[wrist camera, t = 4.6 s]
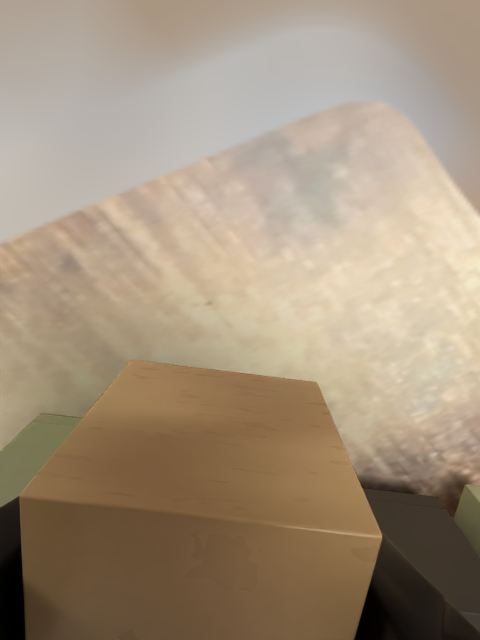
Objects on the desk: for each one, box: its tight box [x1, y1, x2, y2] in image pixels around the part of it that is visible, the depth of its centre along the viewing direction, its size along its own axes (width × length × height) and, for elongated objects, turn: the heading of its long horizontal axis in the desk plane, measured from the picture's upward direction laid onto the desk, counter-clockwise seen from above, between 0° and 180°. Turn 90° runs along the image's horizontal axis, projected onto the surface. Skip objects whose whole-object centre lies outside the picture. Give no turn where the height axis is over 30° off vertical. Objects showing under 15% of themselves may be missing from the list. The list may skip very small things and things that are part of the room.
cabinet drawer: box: [362, 484, 480, 631], centre depth 17 cm, size 17×10×6 cm, turn 83°
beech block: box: [19, 360, 382, 640], centre depth 7 cm, size 5×5×5 cm
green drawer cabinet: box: [0, 414, 82, 507], centre depth 16 cm, size 14×12×8 cm
